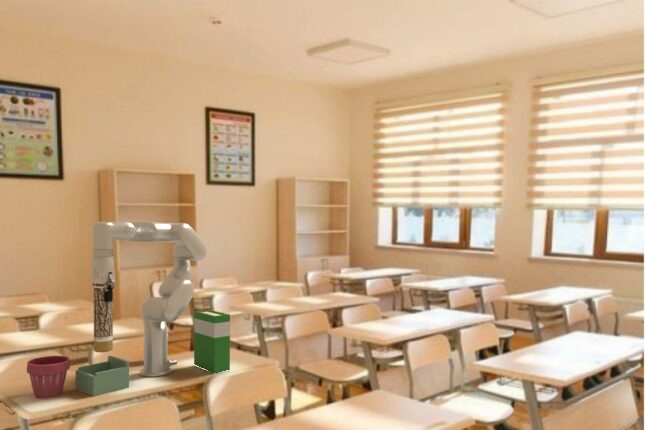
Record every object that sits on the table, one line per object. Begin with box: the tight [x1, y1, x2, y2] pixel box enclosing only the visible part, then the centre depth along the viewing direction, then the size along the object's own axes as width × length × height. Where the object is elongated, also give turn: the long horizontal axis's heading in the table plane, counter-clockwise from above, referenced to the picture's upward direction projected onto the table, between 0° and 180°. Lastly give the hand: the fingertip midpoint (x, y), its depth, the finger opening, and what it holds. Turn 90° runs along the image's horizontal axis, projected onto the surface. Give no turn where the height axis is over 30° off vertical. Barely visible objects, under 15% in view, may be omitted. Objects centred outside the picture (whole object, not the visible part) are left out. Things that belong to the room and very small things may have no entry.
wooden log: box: [93, 284, 114, 353], centre depth 206 cm, size 7×7×25 cm
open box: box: [74, 355, 130, 397], centre depth 205 cm, size 14×14×10 cm
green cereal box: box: [193, 309, 231, 374], centre depth 234 cm, size 18×7×24 cm, turn 42°
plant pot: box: [26, 355, 71, 400], centre depth 197 cm, size 14×14×13 cm
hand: (103, 300), depth 206 cm, fingers closed on wooden log, 6 cm apart
